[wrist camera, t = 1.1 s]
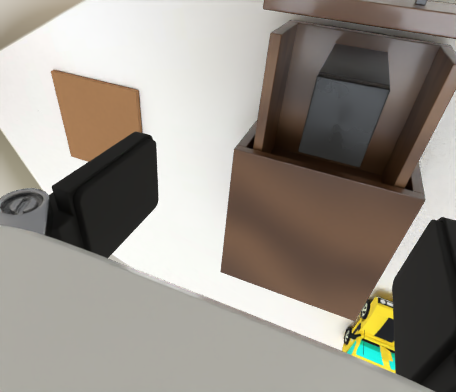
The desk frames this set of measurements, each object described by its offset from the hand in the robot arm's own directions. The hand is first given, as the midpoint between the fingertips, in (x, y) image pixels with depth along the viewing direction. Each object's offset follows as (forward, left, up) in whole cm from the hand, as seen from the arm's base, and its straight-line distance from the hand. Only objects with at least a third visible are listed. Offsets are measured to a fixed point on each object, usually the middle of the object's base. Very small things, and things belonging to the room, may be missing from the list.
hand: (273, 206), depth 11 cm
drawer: (0, +1, -21) cm, 21 cm away
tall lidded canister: (+1, +1, -20) cm, 20 cm away
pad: (+13, -27, -22) cm, 37 cm away
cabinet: (+14, +1, -22) cm, 26 cm away
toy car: (+31, +14, -22) cm, 41 cm away
